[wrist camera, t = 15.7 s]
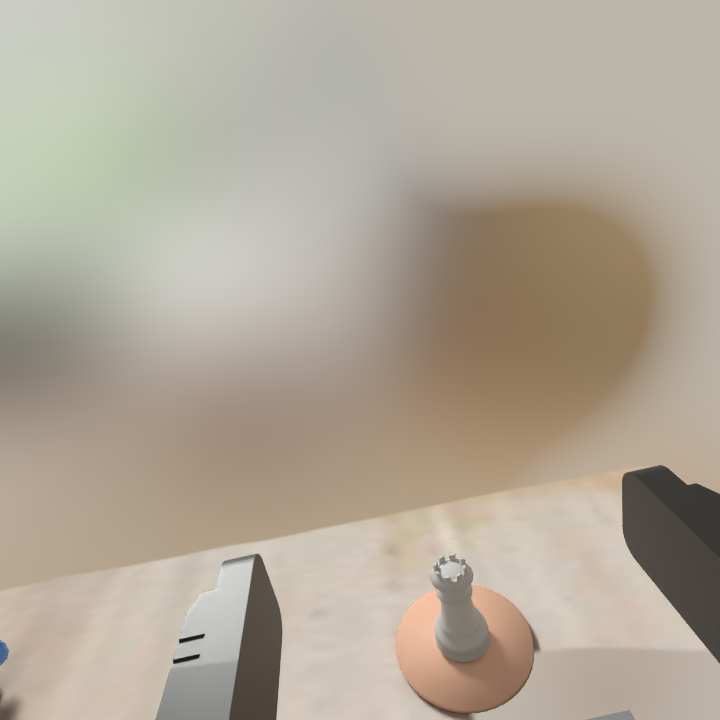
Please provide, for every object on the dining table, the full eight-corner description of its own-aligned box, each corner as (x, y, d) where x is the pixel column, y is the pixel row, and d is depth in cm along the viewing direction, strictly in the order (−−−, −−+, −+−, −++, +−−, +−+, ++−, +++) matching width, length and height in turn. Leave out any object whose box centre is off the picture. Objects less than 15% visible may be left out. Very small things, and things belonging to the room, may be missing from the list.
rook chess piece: (427, 655, 40) (411, 581, 37) (446, 610, 44) (432, 539, 41) (482, 674, 38) (469, 597, 35) (497, 625, 41) (487, 551, 38)
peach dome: (482, 747, 34) (481, 742, 34) (370, 655, 42) (369, 650, 42) (559, 631, 40) (559, 626, 40) (449, 570, 48) (448, 566, 48)
